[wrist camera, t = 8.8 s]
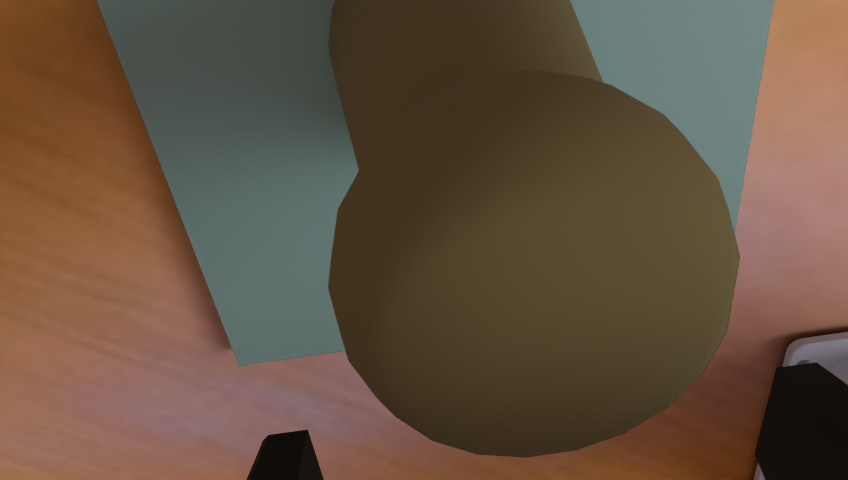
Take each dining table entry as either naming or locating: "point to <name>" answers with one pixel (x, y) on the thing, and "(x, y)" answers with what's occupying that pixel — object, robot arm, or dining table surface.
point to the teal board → (330, 141)
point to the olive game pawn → (517, 230)
